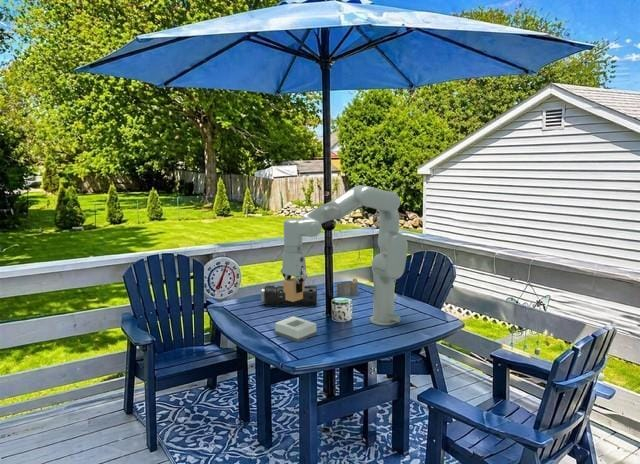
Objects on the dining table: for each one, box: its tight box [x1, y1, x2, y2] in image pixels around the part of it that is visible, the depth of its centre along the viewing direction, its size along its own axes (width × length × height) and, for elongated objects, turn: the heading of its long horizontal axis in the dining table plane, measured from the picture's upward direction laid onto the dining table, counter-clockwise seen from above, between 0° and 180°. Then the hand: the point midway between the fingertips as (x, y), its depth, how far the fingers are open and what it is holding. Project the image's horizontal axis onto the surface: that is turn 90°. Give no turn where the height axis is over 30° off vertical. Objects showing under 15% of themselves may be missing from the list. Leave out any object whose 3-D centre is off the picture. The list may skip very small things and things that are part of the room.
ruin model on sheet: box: [336, 278, 359, 298], centre depth 253 cm, size 11×3×10 cm, turn 96°
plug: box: [282, 277, 306, 302], centre depth 196 cm, size 6×7×8 cm
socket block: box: [274, 315, 317, 343], centre depth 199 cm, size 14×11×5 cm
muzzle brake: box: [260, 285, 318, 306], centre depth 238 cm, size 10×28×10 cm, turn 89°
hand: (294, 290), depth 196 cm, fingers closed on plug, 5 cm apart
